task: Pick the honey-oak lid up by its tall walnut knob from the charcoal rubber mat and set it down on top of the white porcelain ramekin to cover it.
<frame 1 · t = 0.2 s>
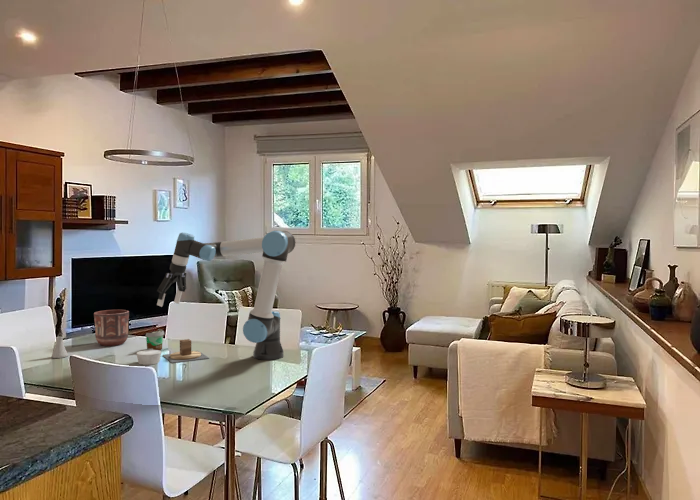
hand: (168, 304, 269), 27 cm above the table, tool tilted 15°, fingers open, 13 cm apart
pottery: (111, 344, 300), on the table
flask: (59, 357, 270), on the table
ramekin: (149, 363, 259), on the table
oak lid: (185, 356, 271), resting on rubber mat
rubber mat: (185, 357, 271), on the table
food container: (157, 350, 287), on the table
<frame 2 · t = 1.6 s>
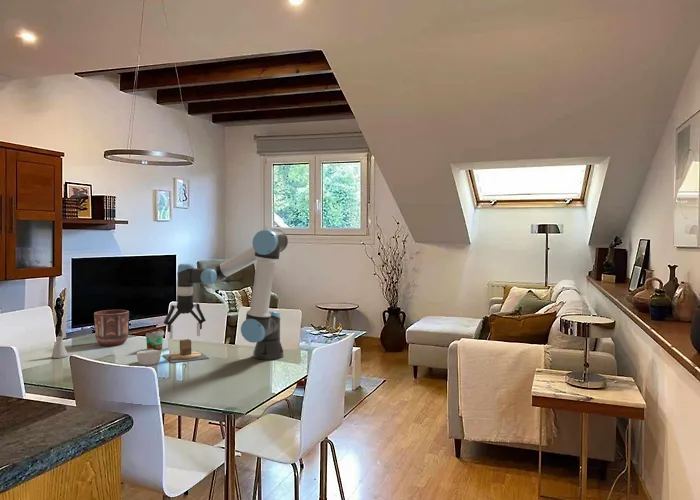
hand: (184, 337, 270), 10 cm above the table, tool pointing down, fingers open, 13 cm apart
nothing on the table moved.
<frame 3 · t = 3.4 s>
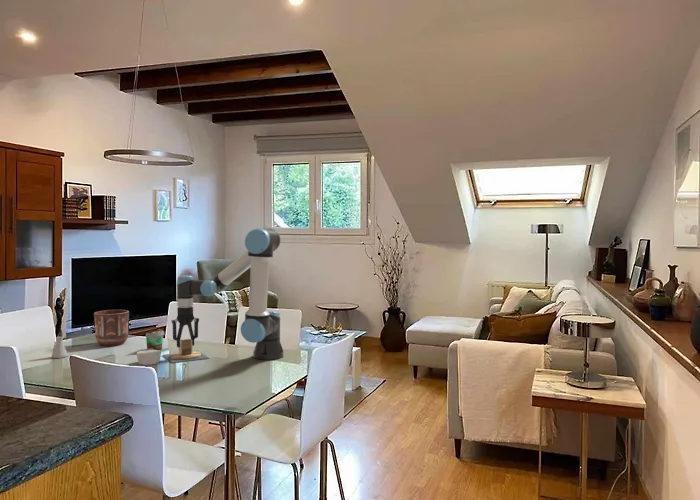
hand: (185, 352, 271), 2 cm above the table, tool pointing down, fingers closed on oak lid, 4 cm apart
oak lid: (185, 356, 271), point 1 cm above the table, touching gripper, rubber mat
everything else where it was.
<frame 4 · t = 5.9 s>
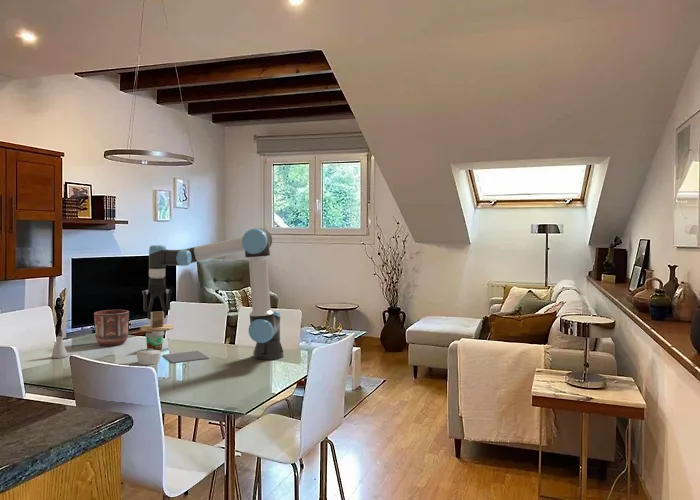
hand: (156, 325, 262), 18 cm above the table, tool pointing down, fingers closed on oak lid, 4 cm apart
oak lid: (156, 328, 262), point 16 cm above the table, touching gripper
everything else where it was.
when the fingers open (8 cm above the table, at t = 8.6 s): oak lid stays where it is, resting on ramekin.
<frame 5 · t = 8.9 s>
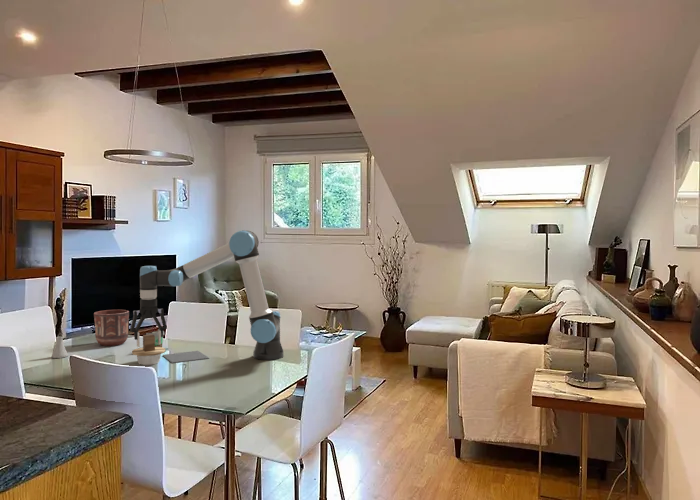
hand: (148, 345, 259), 9 cm above the table, tool pointing down, fingers open, 9 cm apart
ramekin: (148, 363, 259), on the table, touching oak lid
oak lid: (148, 352, 259), point 5 cm above the table, touching ramekin
everything else where it was.
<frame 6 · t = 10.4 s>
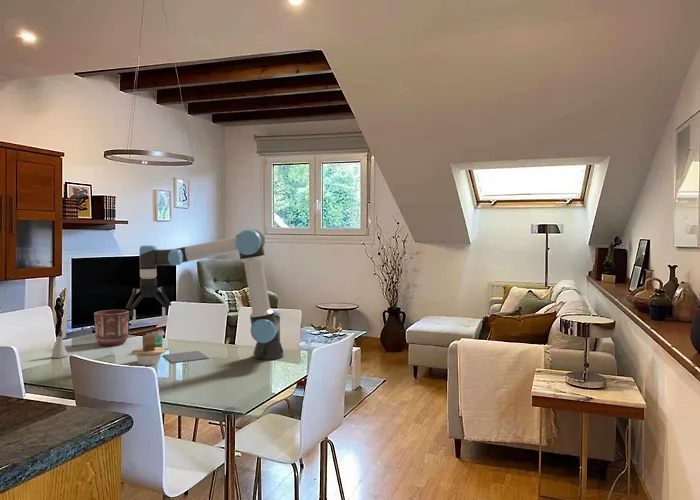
hand: (149, 322, 259), 20 cm above the table, tool pointing down, fingers open, 13 cm apart
nothing on the table moved.
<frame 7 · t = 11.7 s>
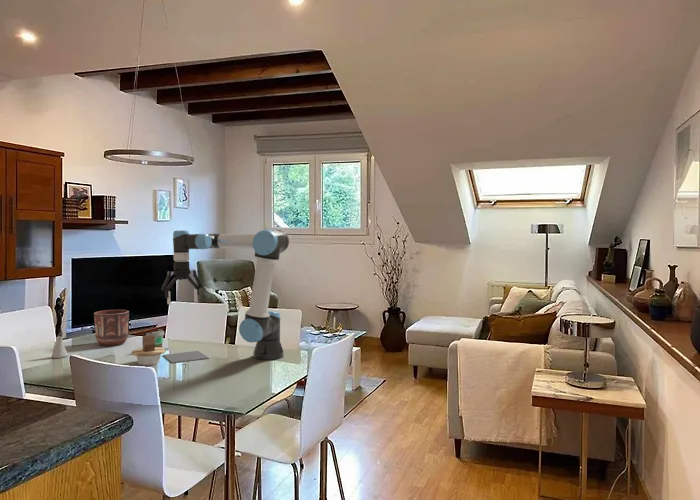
hand: (182, 303, 273), 27 cm above the table, tool pointing down, fingers open, 13 cm apart
nothing on the table moved.
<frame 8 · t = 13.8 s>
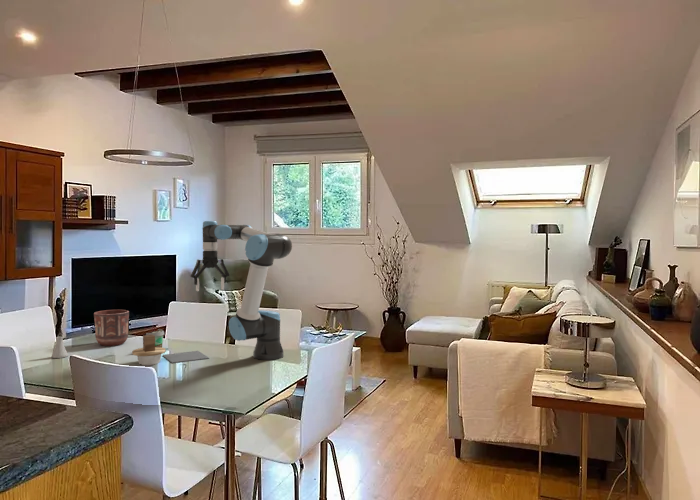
hand: (210, 290, 287), 32 cm above the table, tool pointing down, fingers open, 13 cm apart
nothing on the table moved.
at the end: oak lid 0.1 cm off-centre on the ramekin, point 5.4 cm above the ramekin's base; oak lid tilted 0°; the gripper is holding nothing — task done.
